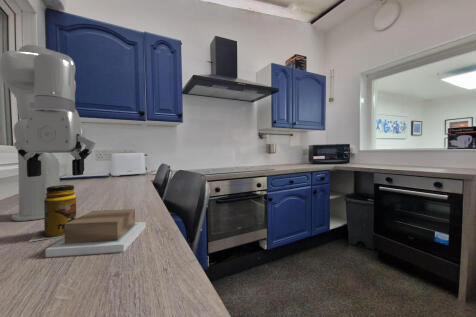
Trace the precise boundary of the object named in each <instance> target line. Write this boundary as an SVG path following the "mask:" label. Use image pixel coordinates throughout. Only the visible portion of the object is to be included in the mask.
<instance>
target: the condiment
mask: <svg viewBox="0 0 476 317" xmlns="http://www.w3.org/2000/svg"><path fill="white" fill-rule="evenodd" d="M46 190H47V193H46V198H45V200H44V218H43V219H44V220H43V221H44V223H43V224H44V226H43V227H44V230H43V229H42V230H38V231H36V232H35V233H34V235H33V236H32V237H31V239H29V241H28V243H31V242H37V241H38V242H39V241H41V240H42V241H43V240H48V239H56V238H62V237H65V224H66V223H68V222H70V221H72V220H75V219H77V195H75V186H74V185H73V184H60V185H58V186H51V187H48V188H47V189H46Z"/></svg>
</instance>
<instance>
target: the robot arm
mask: <svg viewBox="0 0 476 317" xmlns="http://www.w3.org/2000/svg"><path fill="white" fill-rule="evenodd" d="M75 64H76V63H75V62H74V60H73V58H71V56H70V55H67V54H65V53H62V52H58V51H56V50H52V49H48V48H46V47H42V46H38V45H35V44H25V45H23V46H21V47H19V49H18V50H6V51H4V52H3V53H2V55H1V57H0V76H1V77H0V78H1V79H2V81H3V83H4V84H5V85H6V86H7V88H8V89H9V90H10V91H9V92H11V93H12V95H13V96H14V97H15V98H16V105H17V112H18V113H17V114H18V116H19V119H20V120H18V121H16V123H15V124H14V126H13V135H14V140H15V141H14V143H13V146H14V147H15V149H16V151H17V160H18V161H17V162H18V164H17V165H18V212H16V213H14V214H12V215H11V220H12V221H15V222H23V221H24V222H26V221H34V220H43V219H44V200H45V198H46V193H47V190H46V189H47V188H48V187H51V186H58V185H61V184H60V183H61V182H60V177H61V176H60V161H59V159H58V157H57V156H56V155H54V154H55V153H57V154H58V153H60V154H64V153H65V154H67V153H68V154H70V155H71V156H72V157H73V158H74V159H72V161H71V171H72V172H71V174H72V176H82V175H84V172H85V160H86V159H87V158H88V157H89V155H91V154H92V151H93V149H94V148H95V146H96V142H95V141H92V140H90V139H88V138H87V137H86V132H85V130H84V126H83V123H82V121H81V118H80V115H79V112H78V110H77V109H76V97H75V96H76V89H77V85H76V83H77V82H76V80H75V79H76V78H75V75H76V65H75ZM84 145H85V147H84V148H83V146H84ZM82 148H83V149H82Z"/></svg>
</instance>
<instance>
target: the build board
mask: <svg viewBox="0 0 476 317" xmlns="http://www.w3.org/2000/svg"><path fill="white" fill-rule="evenodd" d="M146 225H147V224H146V221H138V222H137V221H135V225H134V226H133V227H132V228H131V229H130V230H128V231H127V232H126V233H125V234H124V235H123V236H122V237H121V238H120V239H119V240H118V241H101V242H84V243H67V244H65V238H62V239H61V240H60V241H58V242H56V243H54V244H53V245H51V246H49V247H48V248H46V249H45V258H53V257H67V256H68V257H70V256H81V255H82V256H83V255H95V254H96V255H98V254H111V253H124V252H125V251H126V250H127V249H128V248H129V247H130V246H131V244H132V243H133V242H134V241H135V240H136V239H137V237H138V236H139V235H141V234H142V232H143V231H144V230H145V229H146V228H147V226H146Z"/></svg>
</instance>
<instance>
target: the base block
mask: <svg viewBox="0 0 476 317" xmlns="http://www.w3.org/2000/svg"><path fill="white" fill-rule="evenodd" d="M135 222H136V209H134V208H132V209H131V208H130V209H110V210H109V209H106V210H105V209H104V210H103V209H102V210H91V211H90V212H88V213H85V214H83V215H81V216H80V217H76V219H75V220H72V221H70V222H68V223H66V224H65V236H64V239H65V244H67V243H84V242H101V241H118V240H119V239H120V238H121V237H122V236H123V235H124V234H125V233H126V232H127V231H128V230H130V229H131V228H132V227H133V226H134V225H135Z"/></svg>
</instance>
